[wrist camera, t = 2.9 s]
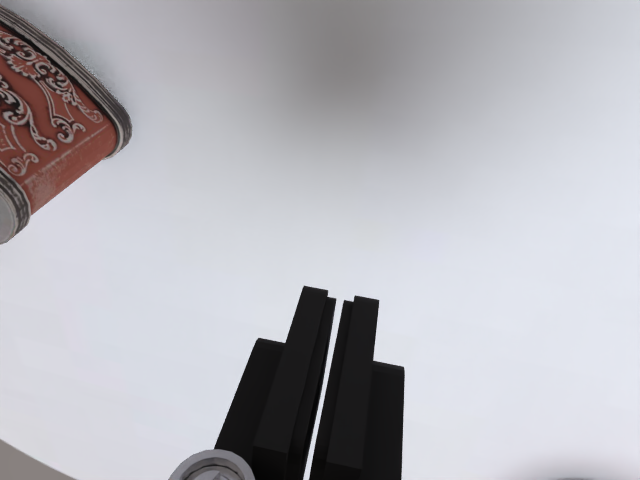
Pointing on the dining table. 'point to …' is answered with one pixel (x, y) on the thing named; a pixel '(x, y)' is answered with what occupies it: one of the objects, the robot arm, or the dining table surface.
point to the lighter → (48, 121)
